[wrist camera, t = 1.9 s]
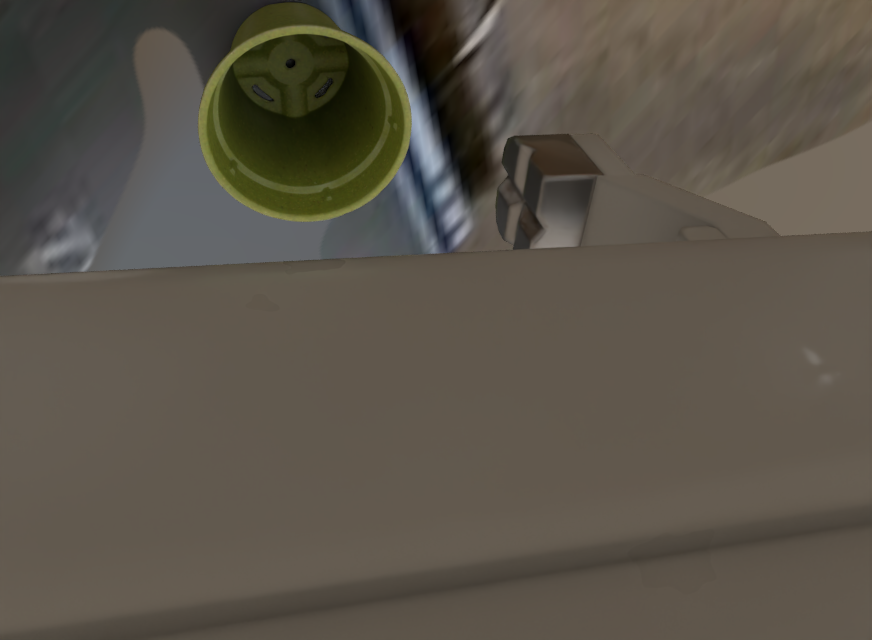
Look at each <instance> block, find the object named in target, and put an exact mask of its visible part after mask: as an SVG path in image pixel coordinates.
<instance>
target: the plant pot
mask: <svg viewBox="0 0 872 640" xmlns="http://www.w3.org/2000/svg"><path fill="white" fill-rule="evenodd" d="M324 36H327V37H328V38H325V37H324ZM289 59H293V60H295V63H296V64H295V66H294V67H293V68H288V67H287V66H286V61H287V60H289ZM329 78H332V80H333V83H332V85H331V86H330V87H329V88H328V89H327V92H326V93H325V94H324V95H323V96H321V97H320V98H316V97H315V93H316V92H318V91H319V90H320V89H321V88H322V87H323V86H324V84H325V83H326V82H327V80H328V79H329ZM253 85H257V86H258V87H259V88H260V89H261V90H262V91H263V92H265V93H266V94H267V95H269V96H270V98H273V99H274V101H268V100H265V99H263V98H261V97H259V96H258V95H257V94H256V93H255V92H254V91H253V88H252V86H253ZM411 125H412V117H411V108H410V103H409V99H408V95H407V93H406V90H405V87H404V85H403V83H402V81H401V79H400V77H399V76H398V74H397V73H396V71H395V70H394V68H393V67H392V66H391V64H390V63H389V62H388V61H387V60H386V59H385V57H384V56H383V55H381V54H380V53H379V52H378V51H377V50H376V49H375V48H373V47H372V46H370V45H369V44H368V43H366V42H364V41H363V40H361V39H359V38H358V37H355V36H353V35H351V34H349V33H347V32H344V31H342V30H341V29H340V28H339V27H338V26H337V25H336V24H335V23H334V22H333V21H332V20H331V19H330V18H329V17H328V16H327V15H326V14H324V13H323V12H321V11H320V10H318V9H316V8H314V7H312V6H309V5H307V4H303V3H292V2H287V3H278V4H271V5H267V6H265V7H262V8H260V9H259V10H257V11H255V12H254V13H253V14H251V15H250V16H249V17H248V18H247V19H246V20H245V21H244V22H243V23H242V25H241V26H240V27H239V29H238V31H237V33H236V35H235V37H234V40H233V43H232V46H231V49H230V52H229V53H228V54H227V55H226V56H225V57H224V58H223V59H222V60H221V62H220V63H219V64H218V65H217V67H216V68H215V70H214V71H213V73H212V74H211V76H210V78H209V80H208V82H207V84H206V86H205V89H204V92H203V95H202V98H201V103H200V107H199V115H198V133H199V140H200V145H201V149H202V153H203V156H204V159H205V161H206V163H207V166H208V168H209V169H210V171H211V172H212V174H213V176H214V177H215V178H216V180H217V181H218V182H219V184H220V185H221V186H222V187H223V188H224V189H225V190H226V191H227V192H228V193H229V194H230V195H231V196H233V197H234V198H235V199H236V200H237V201H239V202H240V203H242V204H243V205H245V206H247V207H249V208H251V209H253V210H255V211H257V212H259V213H261V214H264V215H266V216H270V217H273V218H278V219H283V220H288V221H298V222H302V221H303V222H311V221H320V220H327V219H331V218H334V217H338V216H341V215H343V214H346V213H348V212H351V211H353V210H355V209H357V208H359V207H361V206H363V205H364V204H366V203H368V202H369V201H370V200H372V199H373V198H374V197H375V196H377V195H378V194H379V193H380V192H381V191H382V190H383V189H384V188H385V187H386V186H387V185H388V184H389V182H390V181H391V180H392V178H393V177H394V176H395V174H396V173H397V171H398V169H399V167H400V166H401V164H402V162H403V160H404V158H405V155H406V153H407V150H408V147H409V141H410V136H411Z"/></svg>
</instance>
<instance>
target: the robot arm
mask: <svg viewBox="0 0 872 640" xmlns="http://www.w3.org/2000/svg"><path fill="white" fill-rule="evenodd" d="M502 164H503V166H504V168H505V170H506V171H507V173H508V176H507V177H506V179H505V180H504V181H503V182H502V183H501V184H500V185H499V187H498V190H497V197H496V205H495V206H496V222H497V226H498V229H499V233H500V234H501V236H502V238H503V240H504V241H506V242H508V243H509V244H511V245H513V246H514V247H513V250H498V251H479V252H459V253H440V254H420V255H401V256H381V257H362V258H343V259H323V260H304V261H284V262H265V263H246V264H226V265H206V266H188V267H168V268H150V269H149V268H148V269H128V270H109V271H90V272H70V273H51V274H31V275H12V276H0V640H872V231H871V232H851V233H831V234H813V235H792V236H780V235H779V234H778V233H777V232H776V231H775V230H774V229H773V228H772V227H771V226H769V225H768V224H767V223H766V222H765V221H763V220H760V219H758V218H755V217H752V216H750V215H747V214H744V213H742V212H739V211H737V210H734V209H732V208H729V207H726V206H724V205H721V204H719V203H716V202H714V201H711V200H708V199H706V198H703V197H701V196H698V195H695V194H693V193H690V192H688V191H685V190H682V189H680V188H677V187H675V186H672V185H669V184H667V183H664V182H662V181H659V180H657V179H654V178H651V177H649V176H646V175H644V174H643V175H635V174H634V173H633V172H632V171H631V170H630V169H629V167H628V166H627V165H626V164H625V163H624V162H623V161H622V160H621V159H620V158H619V157H618V155H617V154H616V153H615V152H614V151H613V150H612V149H611V148H610V147H609V146H608V145H607V144H606V142H605V141H604V140H603V139H602V138H601V137H600V136H599V135H598V134H593V133H590V134H573V135H569V134H550V135H524V136H513V137H510V138H508V140H507V142H506V145H505V148H504V152H503V158H502Z"/></svg>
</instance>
